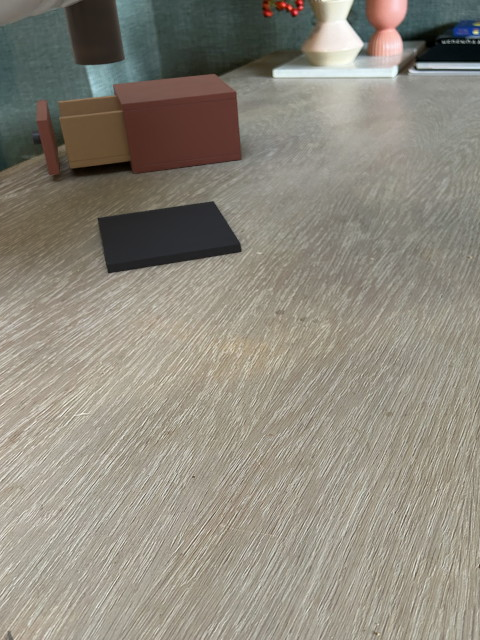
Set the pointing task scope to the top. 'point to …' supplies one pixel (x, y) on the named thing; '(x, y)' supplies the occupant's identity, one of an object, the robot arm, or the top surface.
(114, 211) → the top surface
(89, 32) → the pepper mill
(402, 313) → the top surface
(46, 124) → the drawer
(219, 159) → the cabinet
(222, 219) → the plate
